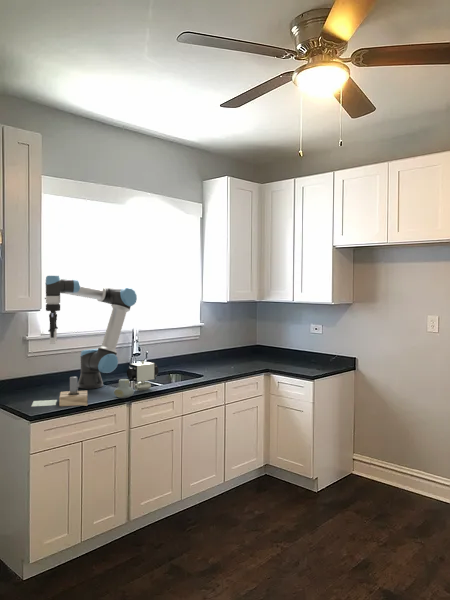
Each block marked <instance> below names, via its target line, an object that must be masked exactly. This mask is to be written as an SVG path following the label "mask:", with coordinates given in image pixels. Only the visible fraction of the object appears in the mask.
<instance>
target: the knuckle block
mask: <svg viewBox="0 0 450 600" xmlns="http://www.w3.org/2000/svg"><path fill="white" fill-rule="evenodd" d="M58 402H59V405H58V406H59V407H68V406H69V407H71V406H84V407H85V406H86V407H87V406H88V390H78V395H70V390H69V391H68V390H67V391H60V392H59V401H58Z"/></svg>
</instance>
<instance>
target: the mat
mask: <svg viewBox="0 0 450 600" xmlns="http://www.w3.org/2000/svg"><path fill="white" fill-rule="evenodd" d="M57 402H58V399H50V400H49V399H48V400H33V402H32V404H31V406H30V407H47V406H56V405H57Z"/></svg>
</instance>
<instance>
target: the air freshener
mask: <svg viewBox="0 0 450 600" xmlns="http://www.w3.org/2000/svg"><path fill="white" fill-rule="evenodd" d="M134 390H135V389H133V387H131V386H130V379H129V378H120V379H119V380H118V387H116V388H115V389H114V390H113V395H114V396H116V397H117V398H118V399H127V398H131V397H132V396H133V395H134V392H135V391H134Z"/></svg>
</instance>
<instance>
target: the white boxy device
mask: <svg viewBox="0 0 450 600" xmlns="http://www.w3.org/2000/svg"><path fill="white" fill-rule="evenodd" d="M158 375H159V367H158V365H157V364H156V362H152V361H151V362H150V361H144V360H141V362H138V363H137V362H136V363H130V364H129V366H128V368H127V369H126V376H127V379H129V381H131V382H135V384H134V390H135V391H137V392H141V391H148V390H150V389H151V388H152V384H151V382H148V381H151V380H156V377H157V376H158ZM136 382H137V383H136ZM138 390H139V391H138Z"/></svg>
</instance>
